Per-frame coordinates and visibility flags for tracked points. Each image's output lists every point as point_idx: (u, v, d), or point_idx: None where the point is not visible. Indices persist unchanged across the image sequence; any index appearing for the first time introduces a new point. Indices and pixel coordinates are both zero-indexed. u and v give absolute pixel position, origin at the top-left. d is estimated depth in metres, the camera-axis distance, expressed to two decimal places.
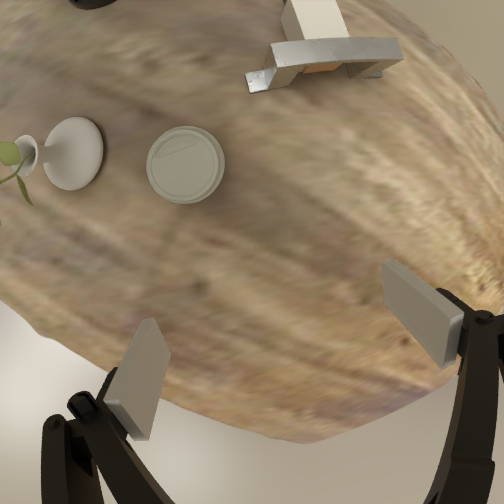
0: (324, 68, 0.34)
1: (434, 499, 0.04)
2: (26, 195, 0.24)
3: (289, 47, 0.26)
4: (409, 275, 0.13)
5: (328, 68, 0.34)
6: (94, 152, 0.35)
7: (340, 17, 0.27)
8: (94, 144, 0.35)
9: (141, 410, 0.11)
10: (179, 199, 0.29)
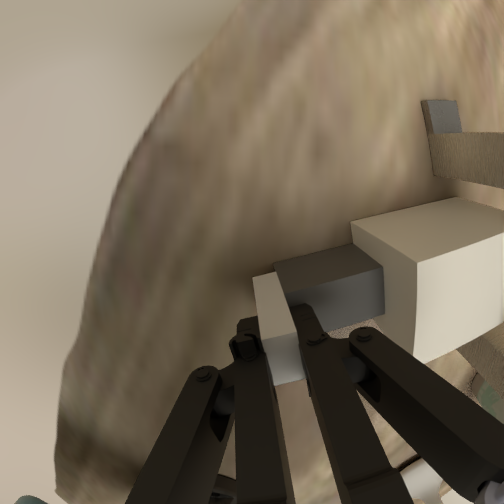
0: None
1: None
2: None
3: None
4: (276, 289, 0.15)
5: None
6: None
7: (481, 246, 0.11)
8: None
9: None
10: None
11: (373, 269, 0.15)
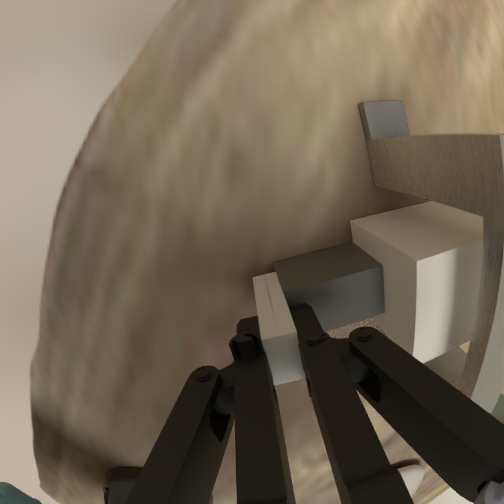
0: None
1: None
2: None
3: None
4: (276, 289, 0.15)
5: None
6: (408, 477, 0.27)
7: (481, 244, 0.11)
8: None
9: None
10: None
11: (373, 268, 0.15)
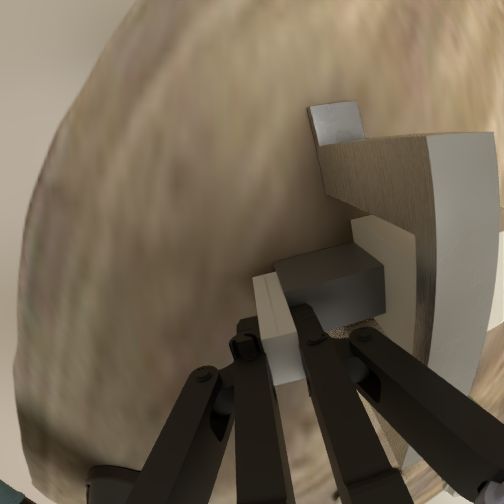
0: None
1: None
2: None
3: None
4: (276, 289, 0.15)
5: None
6: None
7: None
8: None
9: None
10: None
11: (374, 268, 0.14)
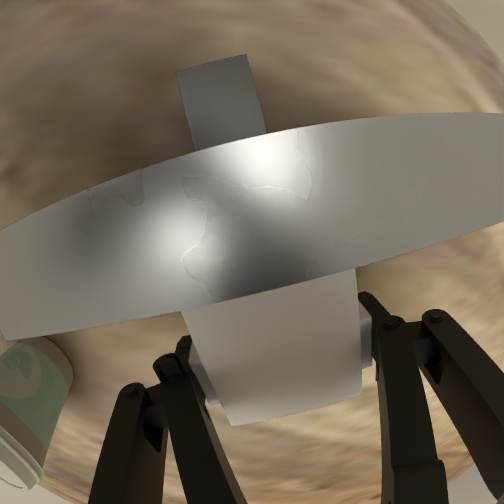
0: None
1: None
2: None
3: (8, 260, 0.05)
4: None
5: None
6: None
7: (351, 296, 0.10)
8: None
9: None
10: (6, 483, 0.09)
11: None
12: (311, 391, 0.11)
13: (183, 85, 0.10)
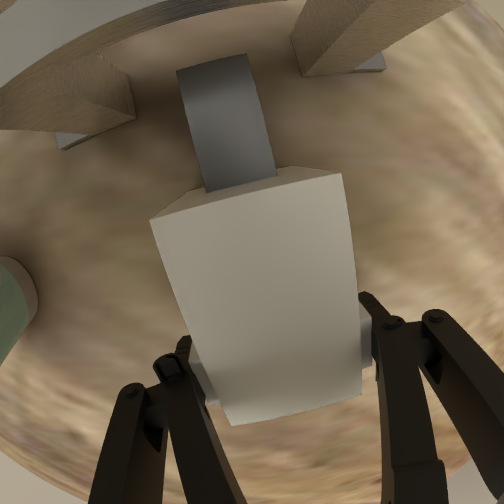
0: None
1: None
2: None
3: None
4: None
5: None
6: None
7: (351, 295, 0.10)
8: None
9: None
10: None
11: (273, 162, 0.12)
12: (311, 391, 0.11)
13: (183, 84, 0.10)
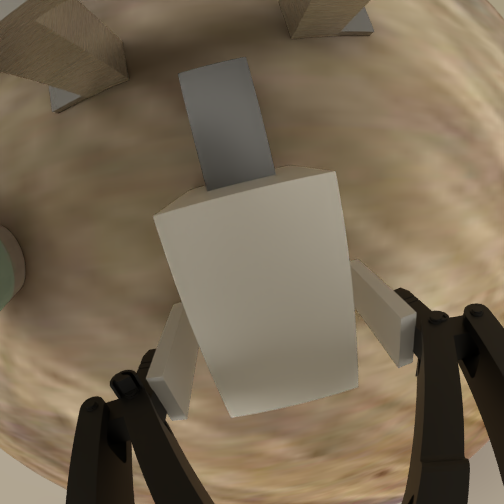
0: None
1: (411, 502, 0.04)
2: None
3: None
4: (370, 275, 0.14)
5: None
6: None
7: (346, 289, 0.10)
8: None
9: (180, 389, 0.12)
10: None
11: (272, 161, 0.12)
12: (308, 383, 0.12)
13: (185, 86, 0.11)
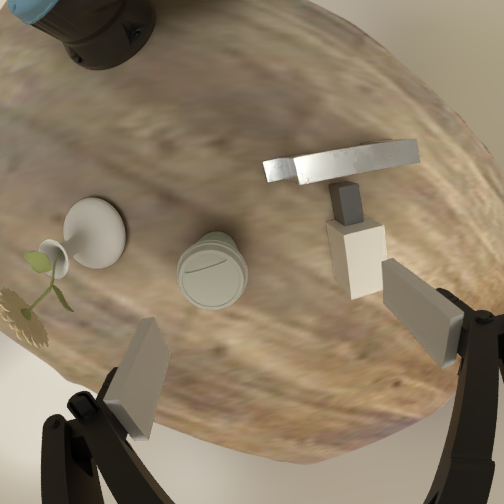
0: None
1: (434, 499, 0.04)
2: (65, 303, 0.29)
3: (312, 161, 0.30)
4: (409, 275, 0.13)
5: None
6: (117, 238, 0.40)
7: (385, 254, 0.38)
8: (116, 230, 0.40)
9: (141, 410, 0.11)
10: (209, 308, 0.34)
11: (363, 217, 0.40)
12: (374, 284, 0.39)
13: (340, 192, 0.38)
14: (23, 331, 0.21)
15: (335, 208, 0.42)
